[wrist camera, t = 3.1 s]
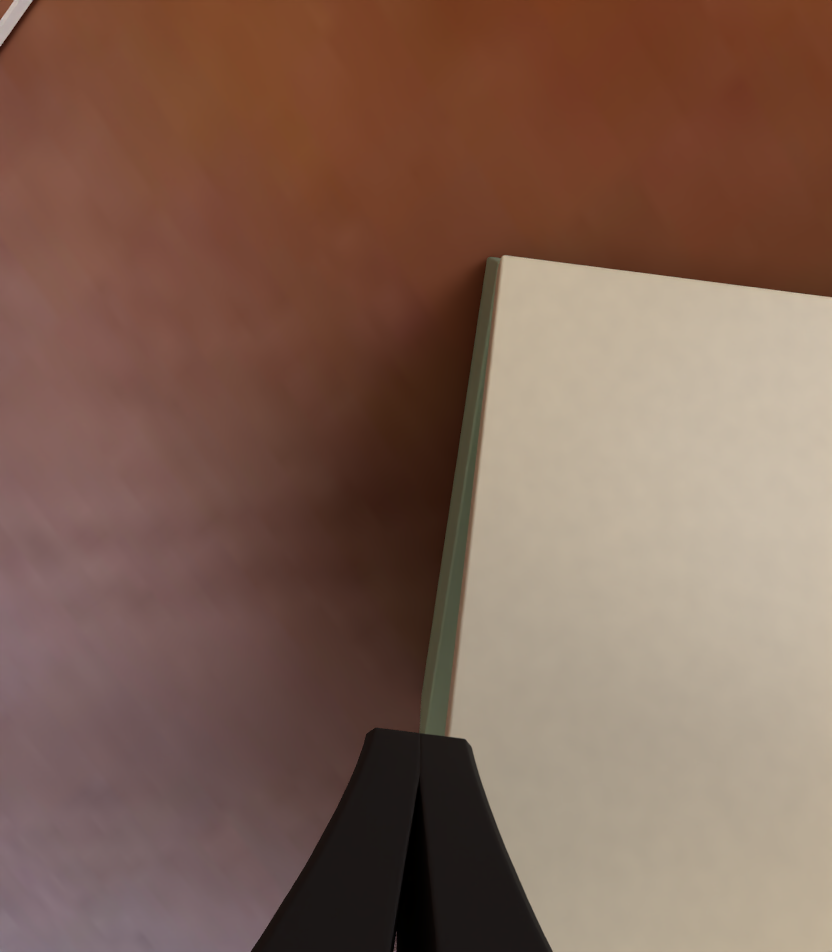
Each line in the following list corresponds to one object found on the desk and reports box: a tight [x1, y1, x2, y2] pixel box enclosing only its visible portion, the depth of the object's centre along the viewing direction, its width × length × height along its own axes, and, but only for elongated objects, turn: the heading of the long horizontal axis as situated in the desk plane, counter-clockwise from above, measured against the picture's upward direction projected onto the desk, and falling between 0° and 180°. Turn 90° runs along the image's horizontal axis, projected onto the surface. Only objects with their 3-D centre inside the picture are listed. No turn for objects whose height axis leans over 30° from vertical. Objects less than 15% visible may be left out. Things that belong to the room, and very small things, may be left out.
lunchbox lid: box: [445, 255, 832, 952], centre depth 11 cm, size 14×11×1 cm
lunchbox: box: [419, 257, 501, 736], centre depth 17 cm, size 13×11×4 cm
